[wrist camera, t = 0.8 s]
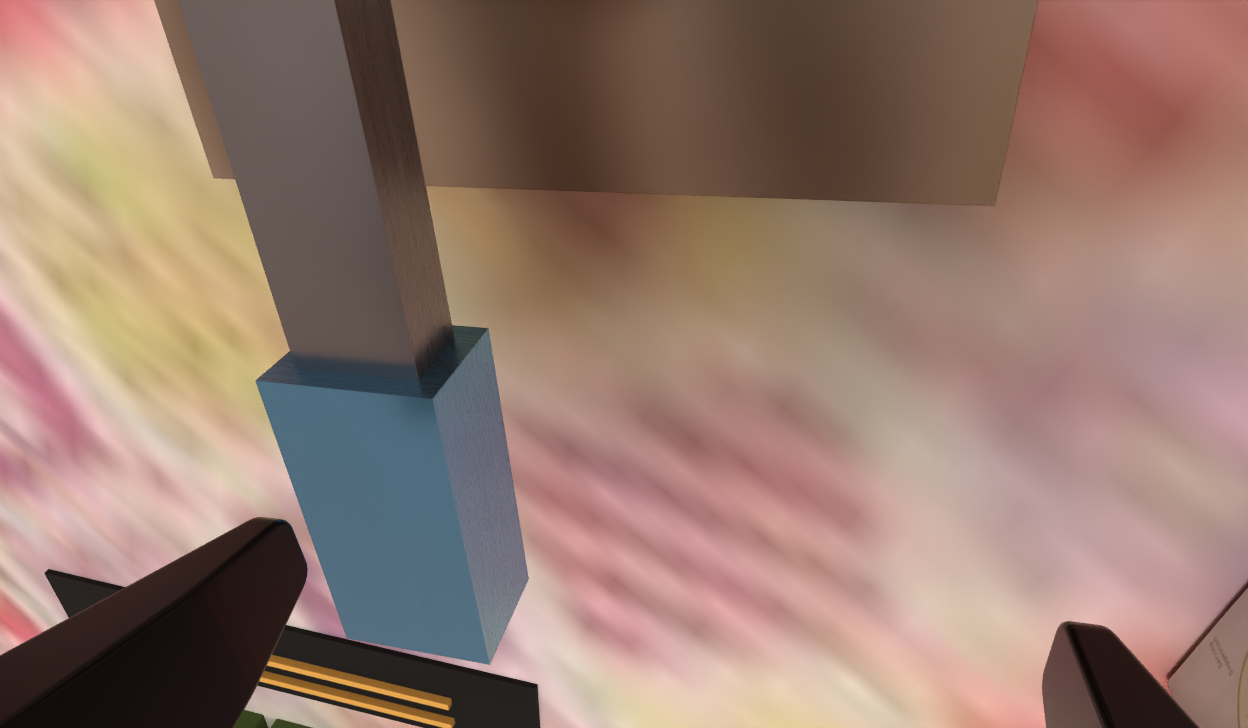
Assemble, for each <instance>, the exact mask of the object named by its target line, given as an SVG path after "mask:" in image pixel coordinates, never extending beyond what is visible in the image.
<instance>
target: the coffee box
mask: <svg viewBox="0 0 1248 728" xmlns="http://www.w3.org/2000/svg"><path fill="white" fill-rule="evenodd" d="M1168 687H1169V689H1170V691H1171V694H1172V696H1173V698H1174V700H1175V701H1176V702H1177V703H1178V704H1179V705H1180V706H1181V708H1182V709H1183V710H1184V711H1185V712H1186V713H1187V714H1188V715H1189V716H1190V718H1191V719H1192V720H1193V721H1194V722H1195V723H1196V724H1197V725H1198V726H1199V728H1248V588H1247V589H1246V590H1245V591H1244V592H1243V594H1242V595H1241V596H1240V597H1239V598H1238V599H1237V601H1236V602H1235V603H1234V604H1233V605H1232V606H1231V608H1230V609H1229V610H1228V611H1227V612H1226V613H1225V614H1224V616H1223V617H1222V618H1221V619H1220V620H1219V621H1218V623H1217V624H1216V625H1215V626H1214V627H1213V628H1212V630H1211V631H1210V632H1209V633H1208V634H1207V636H1206V637H1205V638H1204V639H1203V640H1202V641H1201V643H1200V644H1199V645H1198V646H1197V647H1196V649H1195V650H1194V651H1193V652H1192V653H1191V654H1190V656H1189V657H1188V658H1187V659H1186V660H1185V661H1184V663H1183V664H1182V665H1181V666H1180V667H1179V669H1178V670H1177V671H1176V672H1175V673H1174V674H1173V675H1172V676H1171V678H1170V679H1169V680H1168Z"/></svg>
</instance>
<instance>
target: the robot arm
mask: <svg viewBox="0 0 1248 728" xmlns="http://www.w3.org/2000/svg"><path fill="white" fill-rule="evenodd" d="M307 571H308V570H307V563H306V560H305V558H304V555H303V553H302V551H301V548H300V546H299V543H298V541H297V538H296V536H295V533H294V531H293V528H292V527H291V525H290V524H289V523H288V522H287V521H285V520H282V519H274V518H267V517H256V518H253V519H251V520H249V521H247V522H245V523H243V524H241V525H240V526H238V527H236V528H234V529H232V530H230V531H229V532H227V533H225V534H223V535H221V536H219V537H217V538H216V539H214V540H212V541H210V542H208V543H206V544H205V545H203V546H201V547H199V548H197V549H195V550H194V551H192V552H190V553H188V554H186V555H184V556H182V557H181V558H179V559H177V560H175V561H173V562H171V563H170V564H168V565H166V566H164V567H162V568H160V569H159V570H157V571H155V572H153V573H151V574H149V575H147V576H146V577H144V578H142V579H140V580H138V581H136V582H135V583H133V584H131V585H129V586H127V587H125V588H124V589H122V590H120V591H118V592H116V593H114V594H112V595H111V596H109V597H107V598H105V599H103V600H101V601H100V602H98V603H96V604H94V605H92V606H90V607H89V608H87V609H85V610H83V611H81V612H79V613H77V614H76V615H74V616H72V617H70V618H68V619H66V620H65V621H63V622H61V623H59V624H57V625H55V626H54V627H52V628H50V629H48V630H46V631H44V632H42V633H41V634H39V635H37V636H35V637H33V638H31V639H30V640H28V641H26V642H24V643H22V644H20V645H19V646H17V647H15V648H13V649H11V650H9V651H7V652H6V653H4V654H2V655H0V728H234V726H235V724H236V723H237V721H238V719H239V717H240V716H241V714H242V712H243V711H244V709H245V707H246V705H247V703H248V702H249V700H250V698H251V696H252V694H253V693H254V691H255V689H256V687H257V685H258V683H259V681H260V679H261V677H262V675H263V673H264V670H265V668H266V666H267V664H268V662H269V660H270V658H271V655H272V653H273V651H274V649H275V647H276V645H277V643H278V640H279V638H280V636H281V634H282V632H283V630H284V628H285V626H286V623H287V621H288V619H289V617H290V615H291V613H292V611H293V608H294V606H295V604H296V602H297V600H298V598H299V596H300V593H301V591H302V589H303V587H304V585H305V582H306V578H307ZM1042 695H1043V704H1044V713H1045V721H1046V728H1199V726H1198V725H1197V724H1196V723H1195V722H1194V721H1193V720H1192V719H1191V718H1190V716H1189V715H1188V714H1187V713H1186V712H1185V711H1184V710H1183V709H1182V708H1181V706H1180V705H1179V704H1178V703H1177V702H1176V701H1175V700H1174V699H1173V698H1172V697H1171V695H1170V694H1169V693H1168V692H1167V691H1166V690H1165V689H1164V688H1163V687H1162V685H1161V684H1160V683H1159V682H1158V681H1157V680H1156V679H1155V678H1154V677H1153V675H1152V674H1151V673H1150V672H1149V671H1148V670H1147V669H1146V668H1145V667H1144V665H1143V664H1142V663H1141V662H1140V661H1139V660H1138V659H1137V658H1136V657H1135V656H1134V654H1133V653H1132V652H1131V651H1130V650H1129V649H1128V648H1127V647H1126V646H1125V644H1124V643H1123V642H1122V641H1121V640H1120V639H1119V638H1118V637H1117V636H1116V635H1115V634H1114V633H1113V632H1112V631H1111V630H1110V629H1108V628H1106V627H1104V626H1101V625H1094V624H1087V623H1079V622H1071V621H1067V622H1063V623H1061V624H1060V626H1059V627H1058V629H1057V631H1056V634H1055V637H1054V641H1053V644H1052V647H1051V650H1050V653H1049V656H1048V660H1047V663H1046V666H1045V669H1044V673H1043V680H1042Z"/></svg>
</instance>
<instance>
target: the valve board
mask: <svg viewBox="0 0 1248 728" xmlns="http://www.w3.org/2000/svg"><path fill="white" fill-rule="evenodd" d="M154 1H155V4H156V7H157V10H158V13H159V16H160V19H161V22H162V25H163V28H164V31H165V34H166V37H167V40H168V43H169V46H170V49H171V52H172V55H173V58H174V61H175V64H176V67H177V70H178V73H179V76H180V79H181V82H182V85H183V88H184V91H185V94H186V97H187V100H188V103H189V106H190V109H191V112H192V115H193V118H194V121H195V124H196V127H197V130H198V133H199V136H200V139H201V142H202V145H203V148H204V151H205V154H206V157H207V160H208V163H209V166H210V169H211V172H212V175H213V178H222V179H235V177H234V174H233V171H232V167H231V164H230V161H229V158H228V155H227V152H226V149H225V146H224V142H223V139H222V136H221V133H220V130H219V127H218V124H217V121H216V117H215V114H214V111H213V108H212V105H211V102H210V99H209V95H208V92H207V89H206V86H205V83H204V80H203V77H202V74H201V70H200V67H199V64H198V61H197V58H196V55H195V52H194V49H193V45H192V42H191V39H190V36H189V33H188V30H187V27H186V24H185V20H184V17H183V14H182V11H181V8H180V5H179V2H178V0H154ZM1037 4H1038V0H391V5H392V10H393V15H394V21H395V26H396V31H397V37H398V42H399V47H400V53H401V58H402V63H403V68H404V74H405V79H406V84H407V90H408V95H409V100H410V106H411V111H412V116H413V122H414V127H415V132H416V137H417V143H418V148H419V153H420V159H421V164H422V169H423V175H424V180H425V185H426V186H447V187H475V188H503V189H531V190H559V191H587V192H615V193H643V194H671V195H700V196H728V197H756V198H784V199H812V200H840V201H868V202H896V203H924V204H953V205H981V206H995V202H996V197H997V193H998V188H999V183H1000V179H1001V174H1002V169H1003V164H1004V160H1005V155H1006V150H1007V145H1008V141H1009V136H1010V131H1011V127H1012V122H1013V117H1014V112H1015V108H1016V103H1017V98H1018V93H1019V89H1020V84H1021V79H1022V75H1023V70H1024V65H1025V60H1026V56H1027V51H1028V46H1029V41H1030V37H1031V32H1032V27H1033V22H1034V18H1035V13H1036V8H1037Z"/></svg>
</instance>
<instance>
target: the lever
mask: <svg viewBox="0 0 1248 728" xmlns="http://www.w3.org/2000/svg"><path fill="white" fill-rule="evenodd" d="M178 2H179V5H180V8H181V11H182V14H183V17H184V20H185V24H186V27H187V30H188V33H189V36H190V39H191V42H192V45H193V49H194V52H195V55H196V58H197V61H198V64H199V67H200V70H201V74H202V77H203V80H204V83H205V86H206V89H207V92H208V95H209V99H210V102H211V105H212V108H213V111H214V114H215V117H216V121H217V124H218V127H219V130H220V133H221V136H222V139H223V142H224V146H225V149H226V152H227V155H228V158H229V161H230V164H231V167H232V171H233V174H234V177H235V180H236V183H237V186H238V189H239V192H240V196H241V199H242V202H243V205H244V208H245V211H246V214H247V217H248V221H249V224H250V227H251V230H252V233H253V236H254V239H255V243H256V246H257V249H258V252H259V255H260V258H261V261H262V264H263V268H264V271H265V274H266V277H267V280H268V283H269V286H270V289H271V293H272V296H273V299H274V302H275V305H276V308H277V311H278V314H279V318H280V321H281V324H282V327H283V330H284V333H285V336H286V339H287V343H288V346H289V349H290V352H288V353H287V354H286V355H285V356H284V357H283V358H281V359H280V360H279V361H278V362H277V363H276V364H274V365H273V366H272V367H271V368H270V369H269V370H267V371H266V372H265V373H264V374H263V375H262V376H260V377H259V378H258V379H257V380H256V384H257V387H258V389H259V392H260V395H261V398H262V401H263V403H264V406H265V409H266V412H267V415H268V418H269V420H270V423H271V426H272V429H273V432H274V434H275V437H276V440H277V443H278V446H279V448H280V451H281V454H282V457H283V460H284V463H285V465H286V468H287V471H288V474H289V477H290V479H291V482H292V485H293V488H294V491H295V493H296V496H297V499H298V502H299V505H300V508H301V510H302V513H303V516H304V519H305V522H306V524H307V527H308V530H309V533H310V536H311V539H312V541H313V544H314V547H315V550H316V553H317V555H318V558H319V561H320V564H321V567H322V569H323V572H324V575H325V578H326V581H327V584H328V586H329V589H330V592H331V595H332V598H333V600H334V603H335V606H336V609H337V612H338V614H339V617H340V620H341V623H342V626H343V629H344V631H345V634H346V637H347V638H349V639H354V640H359V641H365V642H370V643H376V644H381V645H386V646H392V647H397V648H403V649H408V650H413V651H419V652H424V653H430V654H435V655H440V656H446V657H451V658H457V659H462V660H467V661H473V662H478V663H484V664H489V665H490V663H491V661H492V659H493V657H494V654H495V652H496V650H497V648H498V645H499V643H500V641H501V639H502V637H503V634H504V632H505V630H506V628H507V626H508V623H509V621H510V619H511V617H512V615H513V612H514V610H515V608H516V606H517V603H518V601H519V599H520V597H521V595H522V592H523V590H524V588H525V586H526V584H527V581H528V579H529V578H528V572H527V566H526V559H525V553H524V547H523V541H522V534H521V528H520V522H519V516H518V509H517V503H516V497H515V491H514V485H513V478H512V472H511V466H510V460H509V453H508V447H507V441H506V435H505V428H504V422H503V416H502V410H501V404H500V397H499V391H498V385H497V379H496V372H495V366H494V360H493V354H492V348H491V341H490V335H489V329H488V328H478V327H465V326H453V325H452V323H451V318H450V313H449V307H448V302H447V297H446V291H445V286H444V281H443V275H442V270H441V265H440V260H439V254H438V249H437V244H436V238H435V233H434V228H433V222H432V217H431V212H430V206H429V201H428V196H427V191H426V185H425V180H424V175H423V169H422V164H421V159H420V153H419V148H418V143H417V137H416V132H415V127H414V122H413V116H412V111H411V106H410V100H409V95H408V90H407V84H406V79H405V74H404V68H403V63H402V58H401V53H400V47H399V42H398V37H397V31H396V26H395V21H394V15H393V10H392V5H391V0H178Z"/></svg>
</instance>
